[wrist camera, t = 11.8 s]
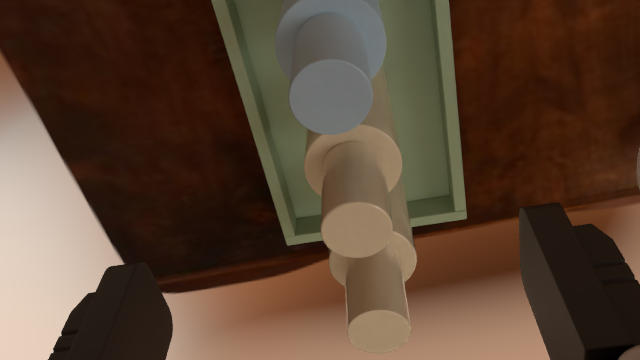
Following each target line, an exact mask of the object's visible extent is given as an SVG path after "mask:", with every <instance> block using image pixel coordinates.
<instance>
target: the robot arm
mask: <svg viewBox="0 0 640 360" xmlns="http://www.w3.org/2000/svg"><path fill="white" fill-rule="evenodd" d="M519 235H520V267H521V275H522V280H523V285H524V289H525V292H526V295H527V298H528V300H529V303H530V306H531V308H532V311H533V313H534V316H535V319H536V322H537V325H538V327H539V330H540V332H541V335H542V338H543V341H544V343H545V346H546V349H547V351H548V354H549V357H550V360H640V284H639V283H638V281H637V280H635V278H634V274H633V273H632V271H631V269H630V267H629V266H628V264H627V263H625V259H624V257H623V256H622V254H621V252H620V251H619V249H618V247H617V246H616V244H615V242H614V241H613V239H611V238H610V237H609V236H607V235H606V234H604V233H603V232H602V231H601V230H599V229H598V228H597V227H595V226H594V225H592V224H586V225H579V226H572V224H571V222H570V220H569V219H568V217H567V215H566V213H565V211H564V209H563V207H562V205H561V204H560V203H558V202H557V203H550V204H543V205H536V206H529V207H522V208H520V211H519ZM172 331H173V324H172V316H171V312H170V309H169V307H168V305H167V303H166V301H165V299H164V297H163V295H162V293H161V291H160V289H159V287H158V285H157V283H156V281H155V279H154V277H153V275H152V273H151V271H150V269H149V267H148V266H147V264H145V263H144V262H138V263H131V264H124V265H118V266H111V267H109V268H108V269H106V271H105V273H104V275H103V277H102V279H101V281H100V284H99V286H98V288H97V290H96V292H93V293H88V294H87V295H86V296H85V297H84V298H83V299H82V301H81V302H80V303H79V304H78V305H77V306H76V307H75V308H74V309H73V310H72V312H71V313H70V315H69V317H68V319H67V321H66V323H65V325H64V328H63V330H62V332H61V333H62V336H60V337H59V338H58V340H57V342H56V344H55V346H54V348H53V350H54V352H53V353H51V355H50V357H49V359H48V360H165V359H166V356H167V352H168V349H169V345H170V342H171V338H172Z"/></svg>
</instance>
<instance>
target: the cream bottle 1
mask: <svg viewBox="0 0 640 360" xmlns="http://www.w3.org/2000/svg"><path fill="white" fill-rule="evenodd" d="M371 84H372V92H373V101H372V106H371V109H370V111H369V113H368V115H367V116H366V118H365V119H364V120H363V121H362V122H361V123H360V124H359V125H358V126H357V127H355V128H354V129H352V130H350V131H348V132H345V133H341V134H336V135H325V134H320V133H316V132H313V131H311V130H309V129H307V128H306V140H305V155H304V172H305V176H306V179H307V181H308V183H309V185H310V186H311V187H312V189H313V190H314V191H315V192H316V193H317V194H318V195H319V196H321V224H320V232H321V237H322V239H323V241H324V243H325V244H326V245H327V247H328V248H329V249H331V250H332V251H333V252H335V253H337V254H339V255H341V256H344V257H349V258H363V257H368V256H371V255H373V254H376V253H377V252H379V251H381V250H382V249H383V248H384V247H385V246H386V245H387V244H388V242H389V241H390V239H391V237H392V234H393V222H392V215H391V208H390V201H389V192H390V191H391V190H392V189H393V188H394V186H395V185H396V183H397V182H398V180H399V178H400V175H401V171H402V156H401V151H400V145H399V140H398V134H397V129H396V124H395V118H394V113H393V108H392V102H391V97H390V91H389V86H388V81H387V76H386V73H385V70H384V68H383V66H382V65H381V67H380V69H379V71H378V72H377V74H376V75H375V76H374V78H373V79H372V80H371Z"/></svg>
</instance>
